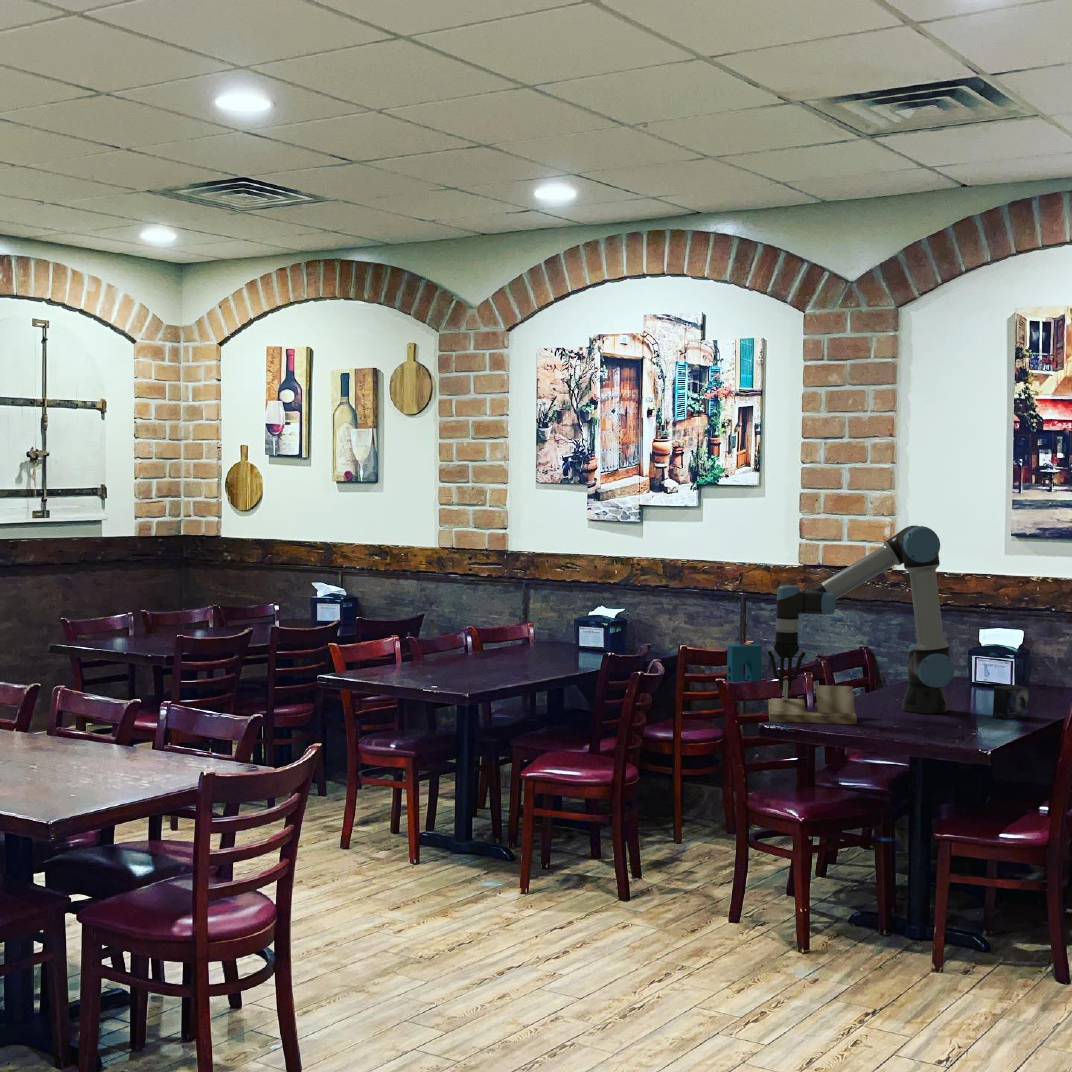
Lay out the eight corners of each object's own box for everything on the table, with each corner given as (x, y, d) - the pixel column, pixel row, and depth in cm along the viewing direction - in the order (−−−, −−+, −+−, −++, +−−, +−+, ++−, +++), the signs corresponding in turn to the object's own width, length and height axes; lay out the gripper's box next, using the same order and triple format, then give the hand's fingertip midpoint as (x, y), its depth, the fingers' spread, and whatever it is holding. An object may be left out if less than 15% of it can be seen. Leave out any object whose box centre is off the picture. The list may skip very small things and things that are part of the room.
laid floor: (854, 721, 450) (855, 713, 450) (856, 724, 444) (856, 716, 444) (769, 718, 454) (769, 710, 454) (769, 721, 448) (769, 713, 448)
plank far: (803, 706, 465) (803, 699, 465) (805, 719, 453) (805, 711, 452) (768, 705, 467) (768, 698, 466) (769, 717, 454) (769, 710, 454)
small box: (1006, 720, 454) (1007, 689, 454) (991, 717, 460) (992, 686, 459) (1029, 717, 459) (1030, 687, 458) (1014, 714, 465) (1015, 684, 464)
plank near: (852, 691, 462) (852, 686, 460) (854, 718, 451) (854, 713, 450) (816, 690, 463) (816, 685, 462) (817, 717, 453) (818, 712, 452)
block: (755, 698, 495) (755, 643, 494) (762, 700, 490) (762, 645, 490) (725, 700, 491) (726, 645, 490) (732, 702, 486) (733, 646, 486)
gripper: (806, 630, 465) (803, 698, 466) (767, 628, 467) (765, 697, 468) (807, 633, 457) (805, 702, 459) (767, 631, 459) (765, 700, 460)
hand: (784, 699), depth 463 cm, fingers closed
